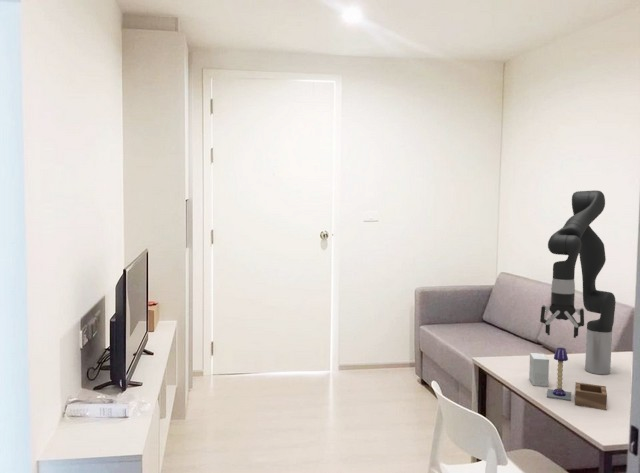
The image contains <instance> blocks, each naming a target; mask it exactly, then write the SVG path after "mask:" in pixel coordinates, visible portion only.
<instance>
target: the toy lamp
mask: <svg viewBox="0 0 640 473" xmlns="http://www.w3.org/2000/svg"><path fill="white" fill-rule="evenodd" d="M553 360H555V361H557V374H556V375H557V377H556V379H557V380H556V383H557V386H556V388H555V389H553V390H554V391H553V394H554V395H557V396H565V395H566V393H565V391H566V390H564V389H563V378H564V377H563V371H564V369H563V368H564V365H563V364H564V362H567V361H568V360H569V358H568V353H567V349H566V348H565V347H556V349H555V352H554V356H553Z"/></svg>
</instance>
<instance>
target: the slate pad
mask: <svg viewBox="0 0 640 473" xmlns="http://www.w3.org/2000/svg"><path fill="white" fill-rule="evenodd" d="M554 390H555V389H553V388H547V390H546V391H547V392H546V398H547V399H554V400H560V401H567V402H572V391H566V390H564V391H565V393H566V395H565V396H557V395H554V394H553V391H554Z"/></svg>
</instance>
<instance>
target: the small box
mask: <svg viewBox="0 0 640 473" xmlns="http://www.w3.org/2000/svg"><path fill="white" fill-rule="evenodd" d="M549 369H550V359H549V358H548V357H547V355H546V353H538V352H537V353H536V352H533V353H532V352H529V372H528V373H529V374H528V375H529V376H528V377H529V381H530V383H531V384H532V386H535V387H536V386H537V387H538V386H539V387H549V379H550V378H549V374H550V372H549Z"/></svg>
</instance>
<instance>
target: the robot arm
mask: <svg viewBox="0 0 640 473" xmlns="http://www.w3.org/2000/svg"><path fill="white" fill-rule="evenodd" d="M605 205H606V197H605V195H604V193H603V192H602V191H601V190H579V191H578V190H577V191H575V192H573V193H572V195H571V206H572V207H571V208H572V214H573V215H572V216H571V217H569V218H568V219H567V220H566V222H565V223H564V225H563V227H561V228H560V229H558V230H557V231H555V232H554V233H553V234H552V235H551V236H550V237H549V239H548V242H547V248H548V251H549V252H550V253H551V254H553V255H559V256H560V255H561V256H567V258H566V260H559V261H555V262H553V266H552V280H551V290H550V291H551V298H550V305H549V306H547V305H545V304H542V306H541V311H540V318H539V319H540V320H539V321H540V323H542V324H544V325H545V332H544V333H545V334H547V336H550V333H551V332H550V331H551V323H552V322H553V321H554V320H555V319H556V320H559V321H560V320H563V321H567V320H569V322H571V324H572V325H573V338H575V339H577V337H578V336H579V328H580V327H584V326H585V311H587V312H589V313H595V314H600V316H599V318H598V319H593V320H590V321H587V323H586V339H585V340H586V342H585V362H584V363H585V364H584V365H585V366H584V369H585V371H586V372H588V373H591V374H595V375H609V374H611V363H612V339H613V338H612V337H613V326H614V321H615V314H616V313H615V311H616V296H615V294H614V293H613V292H609V291H604V290H600V289H596V288H597V287H596V280H597V277H598V275H599V274H600V272H601V270H602V269H603V268H604V266H605V263H606V260H607V259H606V257H607V256H606V249H605V244H604V242H603V240H602V239H601V238H600V237H599V235H598V233H596V232H595V231H594V230H593V229H592V228H591V226H590V225H591V224H592V223H593V222H594V221H595V220H596V219H597V218H598V217H599V216H600V215H601V214H602V213H603V212H604V210H605ZM578 257H579V261H580V262H579V263H580V267H581V277H582V280H581V281H582V301H583V307H584V308H583V307H581V308H575V297H576V296H575V293H576V285H575V283H576V282H575V270H576V269H575V268H576V264H577V261H578ZM548 311H550V313H551V315H550V316H549V317H548V318H546V319H545V316H546V313H547V312H548ZM575 313H577V315H578V316H579V318H580V320H579V322H578V321H577V320H576V318H574V315H575Z"/></svg>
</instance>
